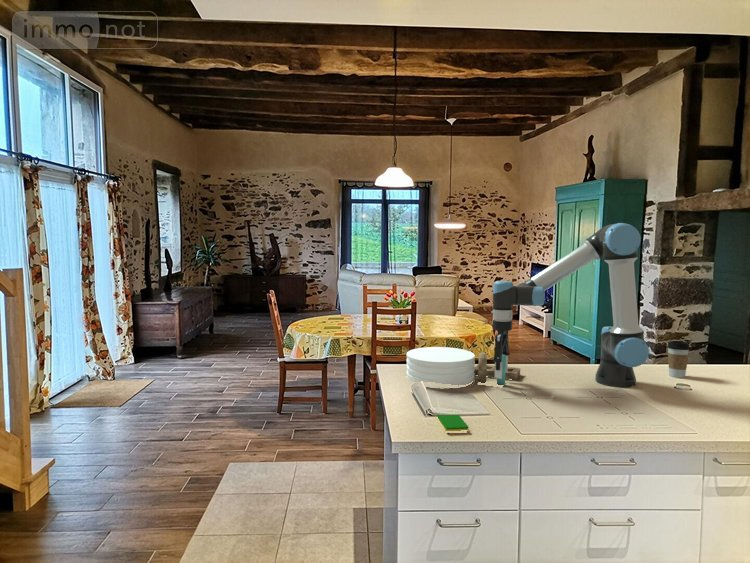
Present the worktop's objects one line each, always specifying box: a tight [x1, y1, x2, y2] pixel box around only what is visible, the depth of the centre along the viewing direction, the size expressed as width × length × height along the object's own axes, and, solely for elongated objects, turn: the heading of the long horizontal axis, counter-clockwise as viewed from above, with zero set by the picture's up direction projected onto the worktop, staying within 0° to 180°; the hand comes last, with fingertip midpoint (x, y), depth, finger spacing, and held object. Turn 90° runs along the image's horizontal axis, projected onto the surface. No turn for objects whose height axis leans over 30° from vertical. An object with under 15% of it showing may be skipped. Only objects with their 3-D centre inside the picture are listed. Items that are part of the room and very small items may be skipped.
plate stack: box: [406, 346, 476, 386], centre depth 212 cm, size 28×28×12 cm
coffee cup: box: [667, 340, 691, 379], centre depth 219 cm, size 8×8×15 cm
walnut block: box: [474, 363, 521, 381], centre depth 219 cm, size 18×10×4 cm, turn 65°
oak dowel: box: [477, 352, 488, 383], centre depth 208 cm, size 3×3×12 cm
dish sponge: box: [437, 414, 469, 431], centre depth 162 cm, size 7×14×2 cm, turn 6°
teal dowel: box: [496, 355, 506, 386], centre depth 204 cm, size 3×3×12 cm
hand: (501, 374), depth 205 cm, fingers open, 11 cm apart
